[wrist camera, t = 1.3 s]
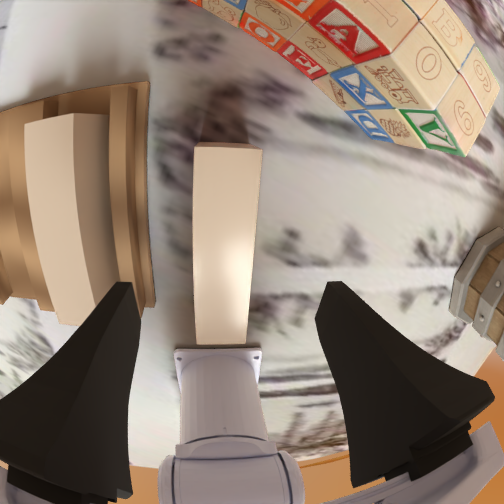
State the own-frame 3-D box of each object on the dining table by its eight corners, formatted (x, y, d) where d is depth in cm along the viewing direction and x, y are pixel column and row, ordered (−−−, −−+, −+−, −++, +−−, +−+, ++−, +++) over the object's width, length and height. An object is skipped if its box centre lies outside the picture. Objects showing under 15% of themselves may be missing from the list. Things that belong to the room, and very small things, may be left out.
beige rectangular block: (238, 300, 22) (245, 343, 18) (197, 300, 22) (196, 344, 17) (249, 143, 17) (262, 149, 12) (199, 141, 16) (194, 146, 12)
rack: (155, 301, 21) (150, 324, 18) (8, 291, 18) (-6, 307, 16) (150, 83, 14) (139, 75, 12) (-19, 121, 11) (-40, 124, 9)
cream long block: (121, 284, 19) (101, 328, 14) (84, 283, 18) (59, 323, 14) (109, 115, 14) (73, 113, 9) (67, 121, 13) (24, 124, 9)
